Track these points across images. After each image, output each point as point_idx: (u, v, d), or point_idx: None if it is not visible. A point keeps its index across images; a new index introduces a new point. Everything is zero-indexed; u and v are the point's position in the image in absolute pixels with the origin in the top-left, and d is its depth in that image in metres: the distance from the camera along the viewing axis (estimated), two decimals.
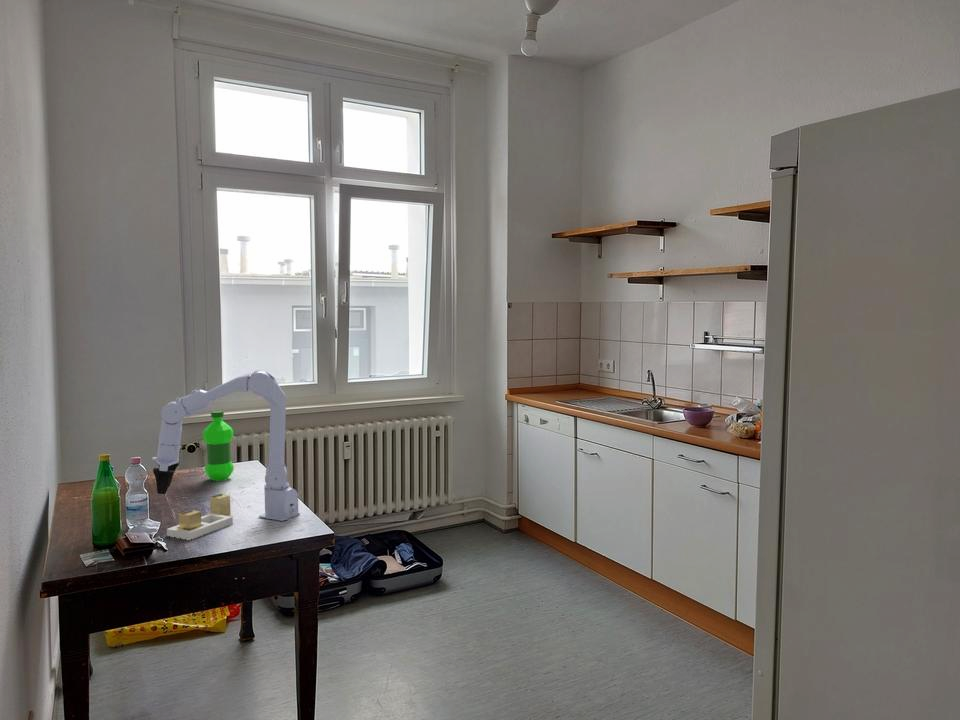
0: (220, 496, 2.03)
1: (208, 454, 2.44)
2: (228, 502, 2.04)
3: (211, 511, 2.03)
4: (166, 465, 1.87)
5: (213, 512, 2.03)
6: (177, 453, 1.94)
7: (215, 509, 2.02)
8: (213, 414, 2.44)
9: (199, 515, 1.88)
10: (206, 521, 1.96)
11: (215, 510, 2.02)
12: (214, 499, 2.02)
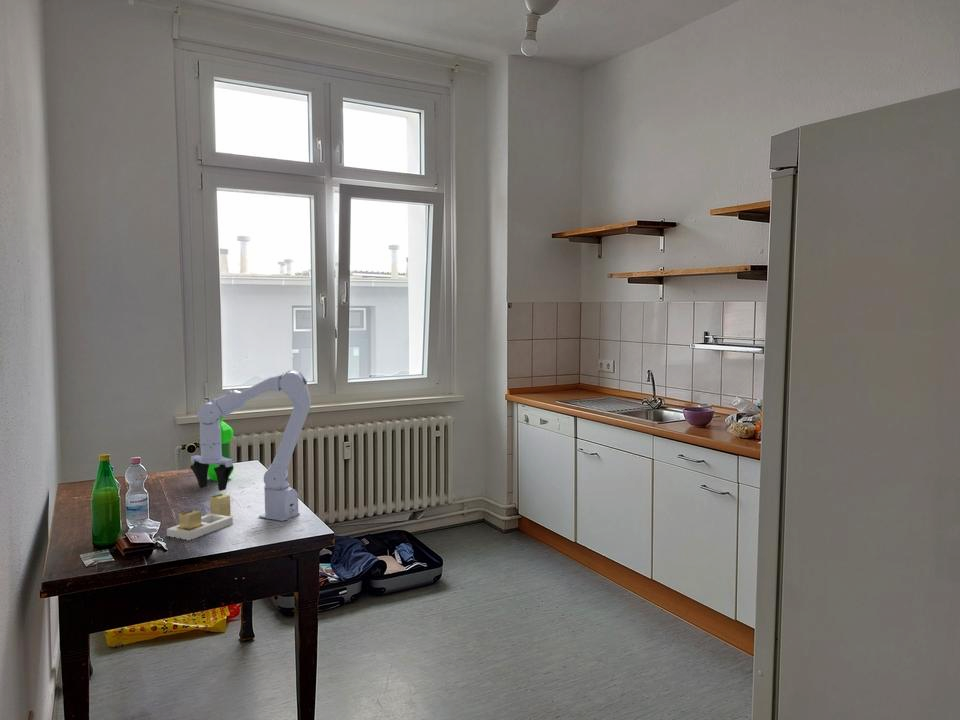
0: (220, 496, 2.03)
1: None
2: (228, 502, 2.04)
3: (211, 511, 2.03)
4: (231, 460, 1.97)
5: (213, 512, 2.03)
6: None
7: (215, 509, 2.02)
8: None
9: (199, 515, 1.88)
10: (206, 521, 1.96)
11: (215, 510, 2.02)
12: (214, 499, 2.02)
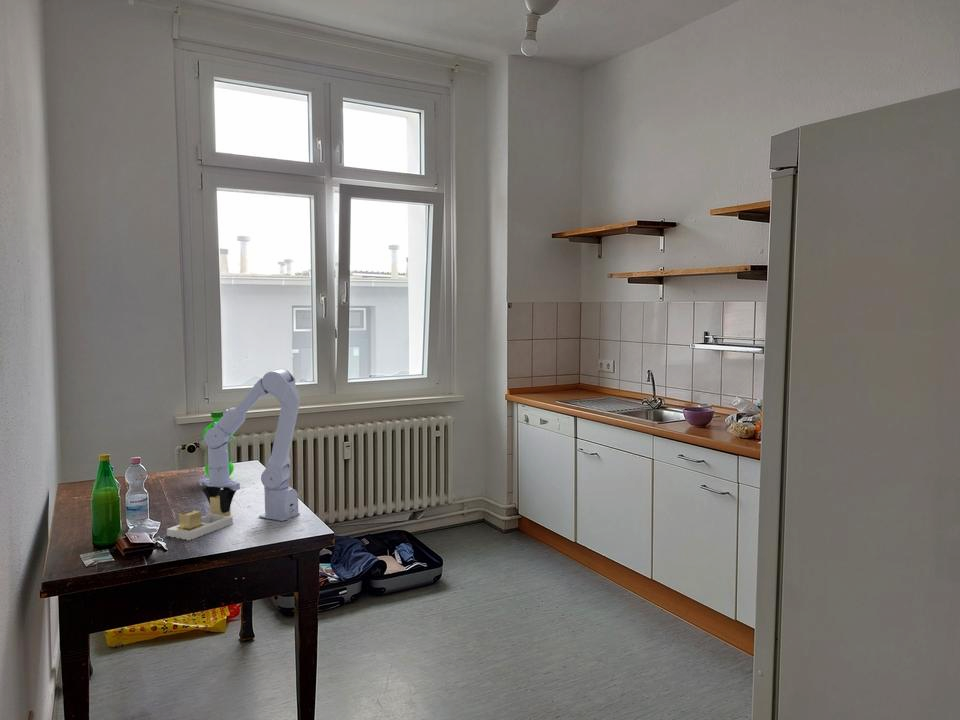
0: None
1: None
2: None
3: (211, 511, 2.03)
4: (239, 484, 2.01)
5: (213, 512, 2.02)
6: None
7: (215, 509, 2.02)
8: (213, 414, 2.44)
9: (199, 515, 1.88)
10: (206, 521, 1.96)
11: (215, 510, 2.02)
12: (214, 499, 2.02)
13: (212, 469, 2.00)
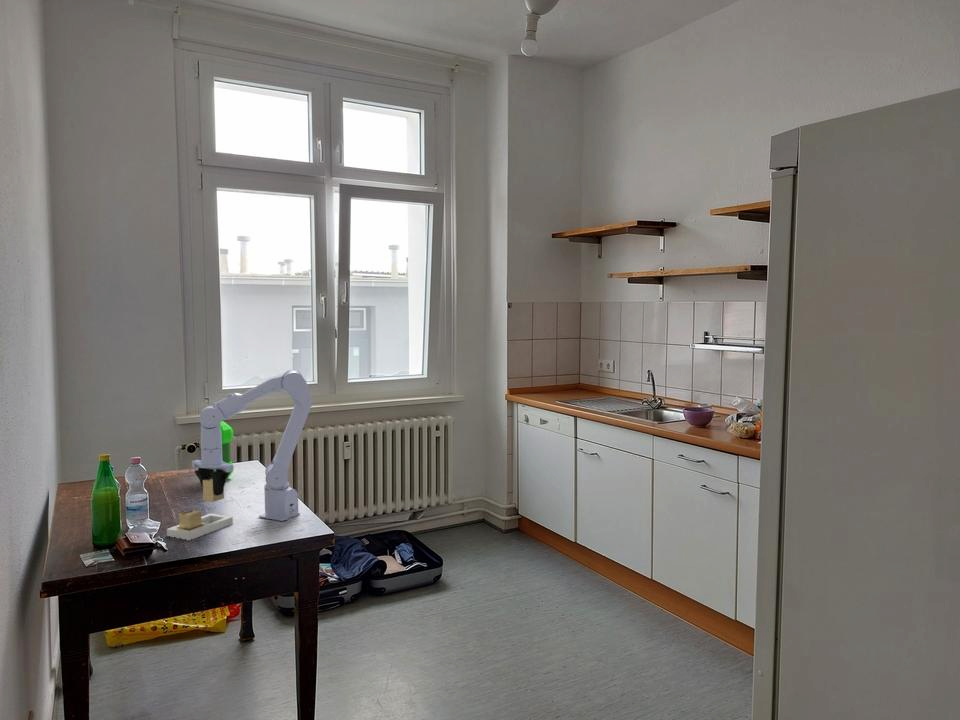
0: None
1: None
2: None
3: (204, 494, 1.96)
4: (232, 465, 1.94)
5: (206, 495, 1.96)
6: None
7: (208, 492, 1.96)
8: None
9: (199, 515, 1.88)
10: (206, 521, 1.96)
11: (207, 493, 1.96)
12: (207, 482, 1.96)
13: (204, 450, 1.94)
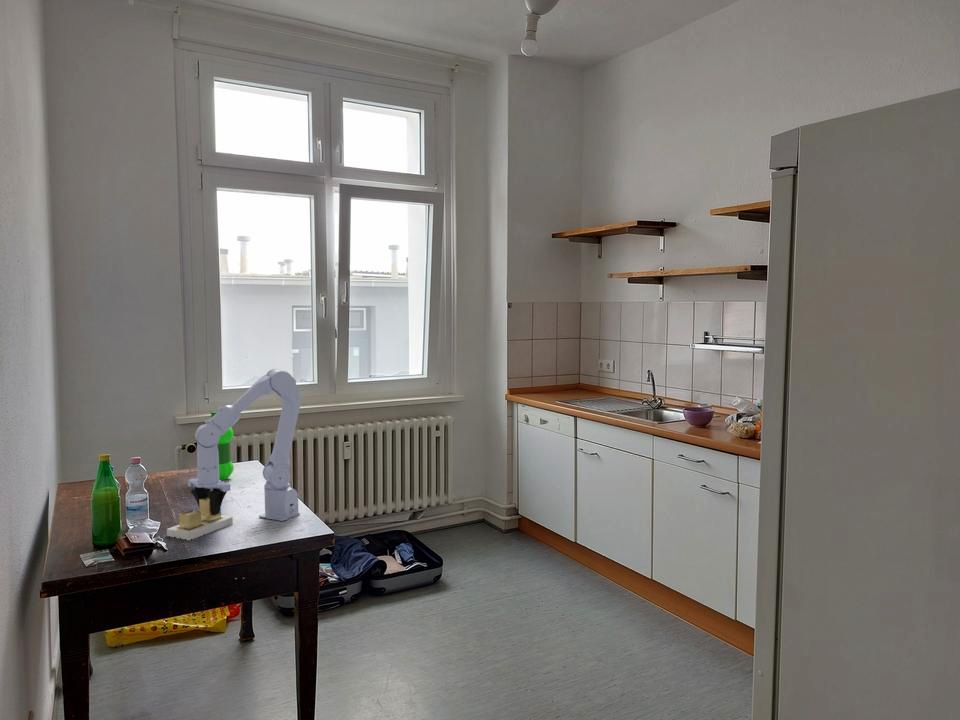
0: None
1: None
2: None
3: None
4: (229, 484, 1.91)
5: (202, 515, 1.93)
6: None
7: (204, 512, 1.92)
8: (213, 414, 2.44)
9: (199, 515, 1.88)
10: (206, 521, 1.96)
11: (204, 513, 1.92)
12: (204, 501, 1.92)
13: (201, 469, 1.90)
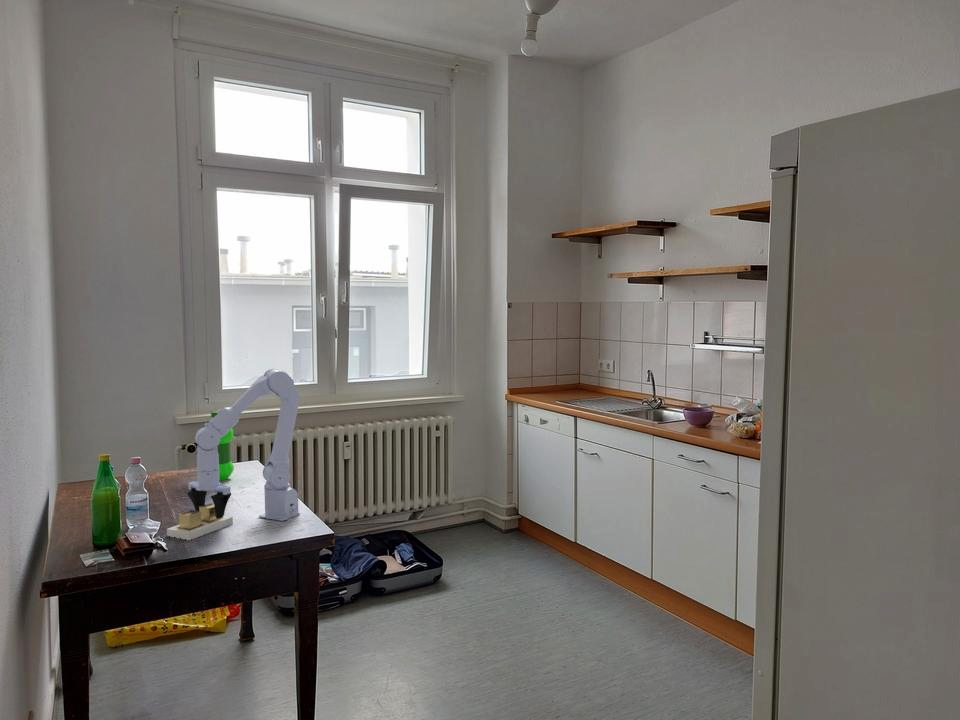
0: (210, 506, 1.94)
1: None
2: None
3: (201, 521, 1.93)
4: (229, 487, 1.91)
5: None
6: None
7: (204, 520, 1.92)
8: (213, 414, 2.44)
9: (199, 515, 1.88)
10: None
11: (204, 521, 1.92)
12: (204, 509, 1.92)
13: (201, 472, 1.90)
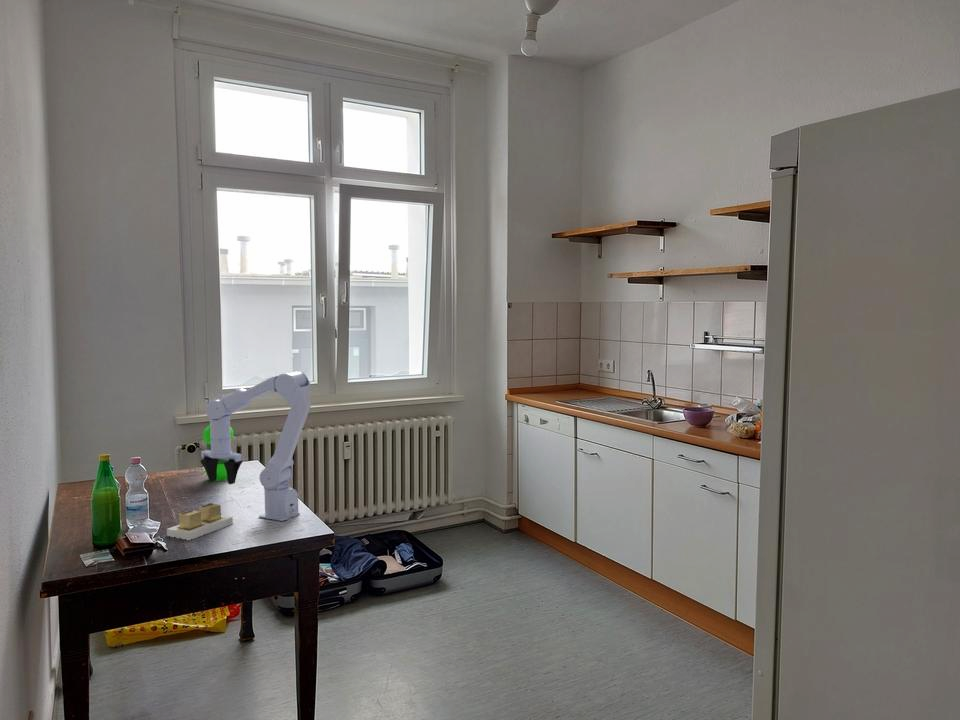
0: (210, 506, 1.94)
1: None
2: (218, 512, 1.94)
3: (201, 521, 1.93)
4: (240, 455, 2.03)
5: None
6: None
7: (204, 520, 1.92)
8: None
9: (199, 515, 1.88)
10: None
11: (204, 521, 1.92)
12: (204, 509, 1.92)
13: (214, 440, 2.02)
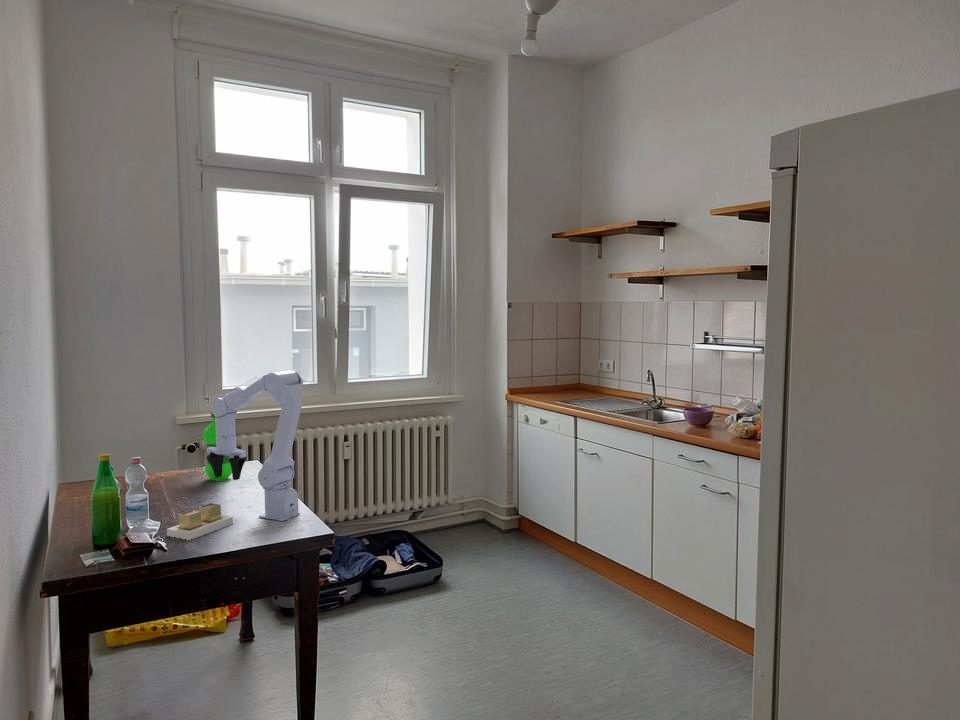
0: (210, 506, 1.94)
1: (208, 454, 2.44)
2: (218, 512, 1.94)
3: (201, 521, 1.93)
4: (245, 451, 2.08)
5: None
6: None
7: (204, 520, 1.92)
8: None
9: (199, 515, 1.88)
10: None
11: (204, 521, 1.92)
12: (204, 509, 1.92)
13: (219, 437, 2.08)
